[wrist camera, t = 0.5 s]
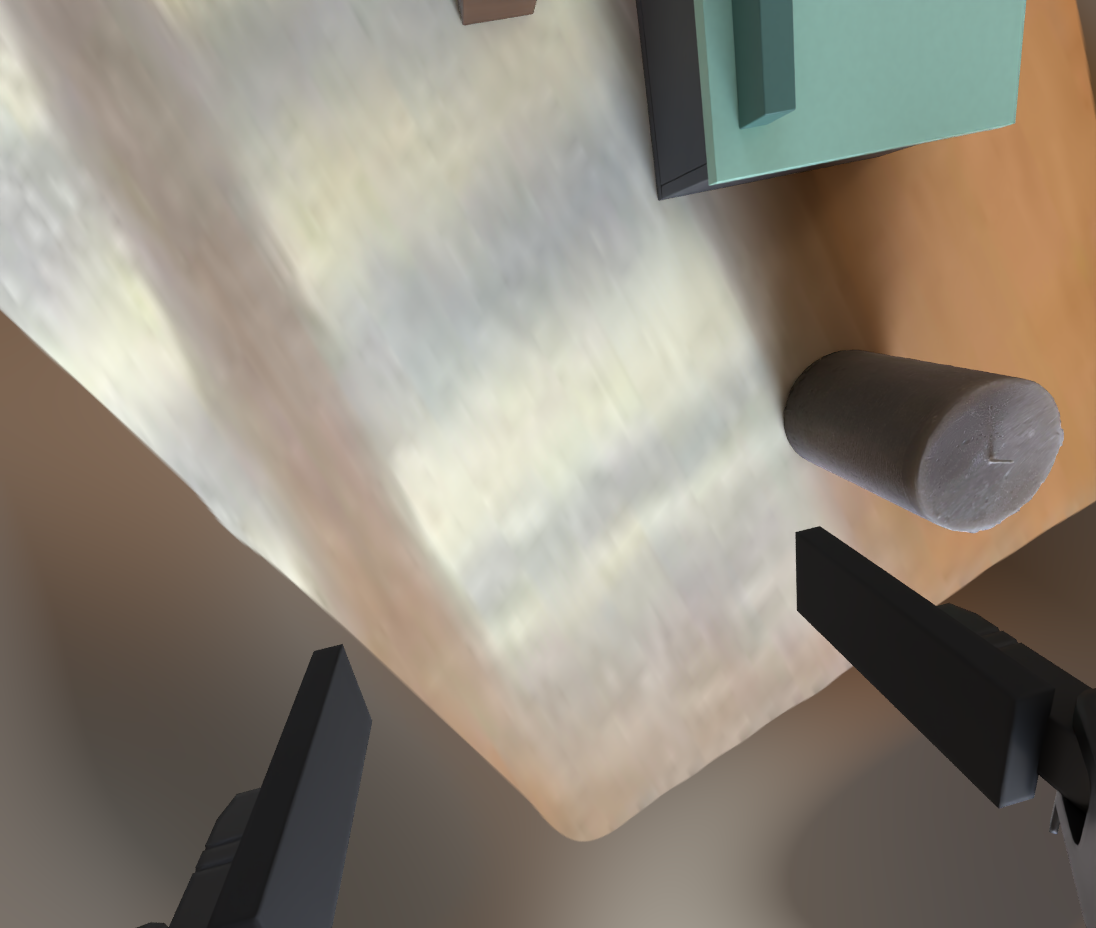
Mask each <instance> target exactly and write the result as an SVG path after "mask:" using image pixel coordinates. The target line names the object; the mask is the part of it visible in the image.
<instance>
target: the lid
mask: <svg viewBox="0 0 1096 928" xmlns="http://www.w3.org/2000/svg"><path fill="white" fill-rule="evenodd" d="M1025 8H1026V0H694V10H695V23H696V35H697V47H698V59H699V72H700V84H701V96H702V108H703V121H704V133H705V145H706V157H707V170H708V182H709V185H715V184H720V183H725V182H730V181H735V180H740V179H745V178H750V177H756V176H761V175H766V174H771V173H776V172H781V171H786V170H791V169H796V168H801V167H806V166H811V165H816V164H821V163H826V162H831V161H836V160H841V159H846V158H851V157H856V156H861V155H866V154H871V153H876V152H881V151H886V150H891V149H896V148H901V147H906V146H911V145H917V144H922V143H927V142H932V141H937V140H942V139H947V138H952V137H957V136H962V135H967V134H972V133H977V132H982V131H987V130H992V129H997V128H1001V127H1004V126H1008V125H1011V124H1014V123H1015V118H1016V107H1017V96H1018V85H1019V74H1020V63H1021V52H1022V41H1023V30H1024V19H1025Z"/></svg>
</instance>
